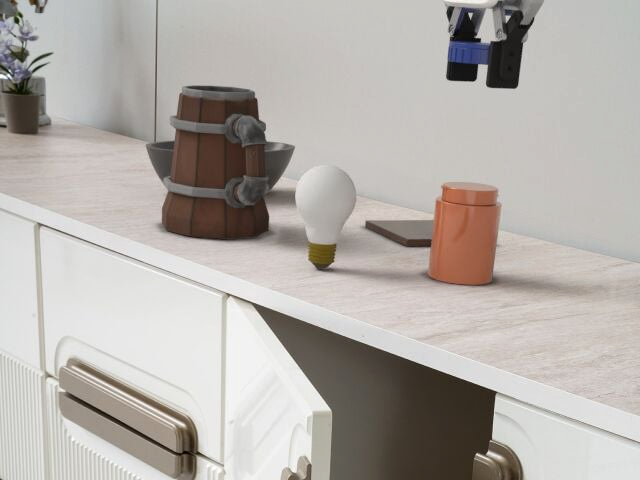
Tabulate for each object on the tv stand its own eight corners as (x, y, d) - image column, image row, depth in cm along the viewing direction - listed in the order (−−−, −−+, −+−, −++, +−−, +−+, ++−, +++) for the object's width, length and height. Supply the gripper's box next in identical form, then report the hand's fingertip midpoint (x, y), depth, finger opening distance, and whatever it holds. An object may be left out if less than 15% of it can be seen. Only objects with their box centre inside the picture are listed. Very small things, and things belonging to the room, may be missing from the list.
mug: (144, 221, 127) (145, 81, 122) (237, 217, 134) (242, 84, 128) (208, 250, 116) (213, 97, 110) (307, 244, 122) (317, 99, 116)
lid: (470, 64, 102) (472, 44, 101) (434, 59, 108) (436, 40, 107) (533, 67, 105) (535, 47, 104) (495, 61, 110) (497, 43, 110)
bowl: (313, 197, 151) (316, 150, 149) (176, 206, 138) (177, 154, 135) (259, 183, 160) (261, 138, 157) (124, 190, 146) (124, 141, 144)
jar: (471, 269, 116) (482, 181, 113) (504, 284, 111) (516, 192, 107) (416, 270, 114) (425, 180, 110) (447, 285, 108) (458, 191, 105)
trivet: (445, 226, 138) (446, 219, 138) (491, 245, 129) (492, 238, 129) (364, 227, 134) (365, 220, 134) (406, 246, 125) (407, 239, 124)
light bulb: (300, 259, 115) (307, 158, 111) (356, 266, 113) (365, 164, 109) (283, 270, 109) (289, 165, 105) (341, 278, 108) (350, 171, 104)
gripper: (420, -126, 106) (403, 75, 113) (522, -140, 91) (495, 92, 98) (489, -118, 108) (468, 78, 116) (597, -131, 94) (566, 94, 101)
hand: (481, 82), depth 107 cm, fingers closed on lid, 6 cm apart
